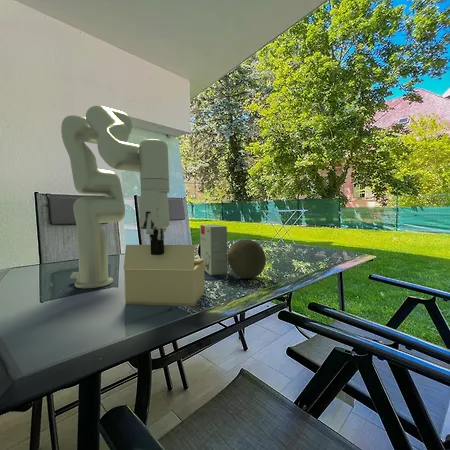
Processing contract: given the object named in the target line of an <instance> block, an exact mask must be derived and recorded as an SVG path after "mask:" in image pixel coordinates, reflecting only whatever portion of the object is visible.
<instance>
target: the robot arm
mask: <svg viewBox="0 0 450 450" xmlns="http://www.w3.org/2000/svg"><path fill="white" fill-rule="evenodd" d="M60 127H61V128H60V129H61V130H60V133H61V139H62V142H63V145H64V147H65V150H66V152H67V154H68V157H69V160H70V168H71V175H72V181H73V185H74V188H75V191H77V192H78V193H79V194H82V195H92V196H83V197H80V198H77V199H76V200H75V201H74V203H73V206H72V209H73V214H74V215H73V216H74V220H75V224H76V230H77V231H76V233H77V250H78V251H77V253H78V254H77V255H78V271H77V272H76V271H75V272H74V271H73V272H72V273H71V274H70V276H69V277H70V279H76V281H75V282H74V287H75V288H78V289H95V288H101V287H106V286H108V285H111V284H112V283H113V282H114V278H113V277H111V276H109V255H108V236H107V232H106V230H105V229H104V228H103V226H102V225H101V224H105V223H107V224H108V223H111V224H112V223H118V222H121V221H122V220H123V219H124V218H125V216H126V206H125V200H124V194H123V188H122V183H121V179H120V177H119V176H118V174H117V173H116V172H114V171H112V170H107V169H100V168H99V167H98V164H97V159H96V155H95V154H94V153H93V151H92V150H91V148H90V147H89V146H88V145H87V144H86V143H88V144H95V145H96V146H97V151H98V154H99V156H100V158H101V159H102V160H103V161H104V162H105V163H106V164H107V166H109V167H110V168H112V169H114V170H118V171H119V170H120V171H126V172H127V171H128V172H136V173H139V178H140V179H139V180H140V199H139V227H140V229H141V230H146V231H145V232H146V234H147V235H149V236H148V237H149V238H148V239H149V240H150V245H151V255H162V254H164V245H165V240H164V239H165V232H166V231H167V228H168V227H169V226H170V207H169V197H168V194H169V193H170V170H169V147H168V144H167V143H166V142H165V141H164V140H160V139H155V138H148V139H144V140H142V141H141V142H139V144H134V143H130V142H128V140H129V137H130V134H132V133H131V132H132V131H133V122H132V119H131V117H130V116H129V115H128V114H127V113H125V112H124V111H122V110H121V111H120V110H117V109H114V108H109V107H106V106H104V105H93V106H91V107H89V108H88V109H87V111H86V113H85V116H82V115H74V114H73V115H67V116H65V117H63V119H62V121H61V126H60ZM93 195H94V196H93ZM96 195H97V196H96ZM98 195H99V196H98Z"/></svg>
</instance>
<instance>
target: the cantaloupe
mask: <svg viewBox="0 0 450 450" xmlns="http://www.w3.org/2000/svg"><path fill="white" fill-rule="evenodd" d="M266 259H267V258H266V253H265V252H264V248H263V247H262V246H261V244H260V243H258V242H257V241H255V240H253V239H242V240H239V241H236V242H234V243H233V244H232V245H231V247H230V248H229V249H228V251H227V263H228V265H229V268H230V269H231V271H232V272H233V273H234V274H235V275H236V276H238V277H240V278H241V279H245V280H246V279H247V280H250V279H254V278H257V277H258V276H259V275H261V274H262V272H263V271H264V270H265V267H266V264H267V260H266Z"/></svg>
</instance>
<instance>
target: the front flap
mask: <svg viewBox="0 0 450 450" xmlns="http://www.w3.org/2000/svg"><path fill="white" fill-rule="evenodd" d="M195 255H196V244H164V254H162V255H151V244H125V251H124V262H123V263H124V264H123V270H124V269H156V270H194V259H196V257H195Z"/></svg>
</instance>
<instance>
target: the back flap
mask: <svg viewBox="0 0 450 450" xmlns="http://www.w3.org/2000/svg"><path fill="white" fill-rule="evenodd" d="M202 261H204V259H201V258H195V259H194V262H202Z"/></svg>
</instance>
